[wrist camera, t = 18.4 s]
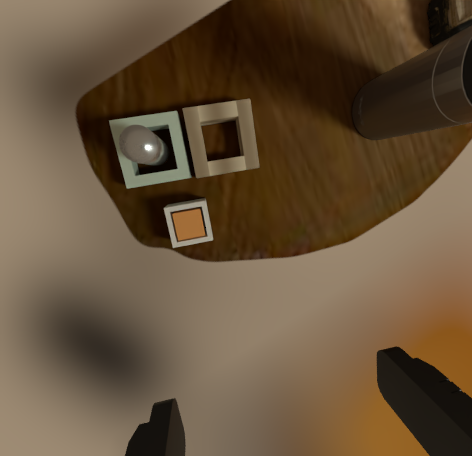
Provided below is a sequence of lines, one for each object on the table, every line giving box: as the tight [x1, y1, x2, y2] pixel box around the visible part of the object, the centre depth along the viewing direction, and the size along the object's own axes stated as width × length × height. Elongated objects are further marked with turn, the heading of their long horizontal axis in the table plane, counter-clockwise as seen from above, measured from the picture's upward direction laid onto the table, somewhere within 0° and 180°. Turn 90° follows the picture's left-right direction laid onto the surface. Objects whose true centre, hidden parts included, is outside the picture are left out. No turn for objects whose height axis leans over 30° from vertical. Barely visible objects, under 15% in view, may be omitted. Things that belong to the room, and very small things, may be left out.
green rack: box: [109, 111, 191, 188], centre depth 35 cm, size 9×9×3 cm
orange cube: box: [172, 207, 205, 241], centre depth 37 cm, size 4×4×4 cm
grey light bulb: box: [119, 125, 169, 166], centre depth 32 cm, size 4×4×10 cm
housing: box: [164, 198, 213, 248], centre depth 38 cm, size 6×6×4 cm
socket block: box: [182, 99, 259, 178], centre depth 36 cm, size 9×9×3 cm
